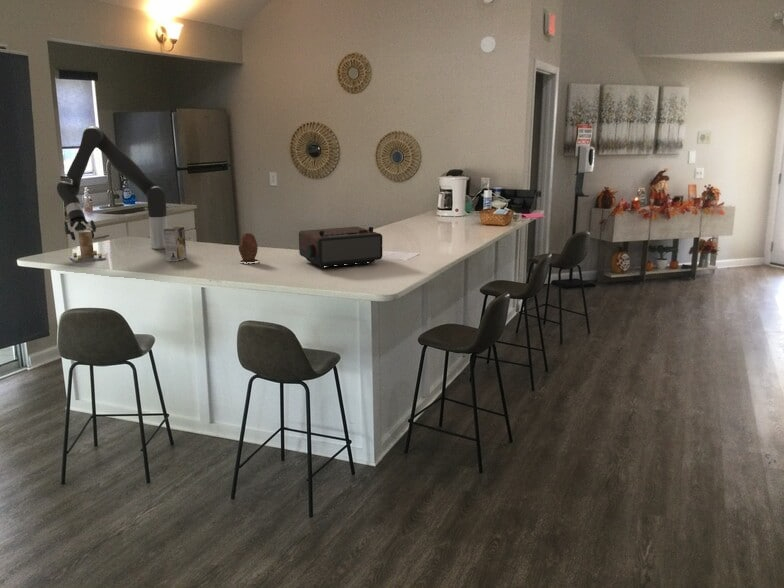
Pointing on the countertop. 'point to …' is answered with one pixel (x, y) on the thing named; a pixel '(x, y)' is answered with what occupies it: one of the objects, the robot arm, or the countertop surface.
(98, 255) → the dock
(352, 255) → the radio receiver
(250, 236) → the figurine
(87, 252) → the walnut block
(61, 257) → the countertop surface
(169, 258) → the coffee box
